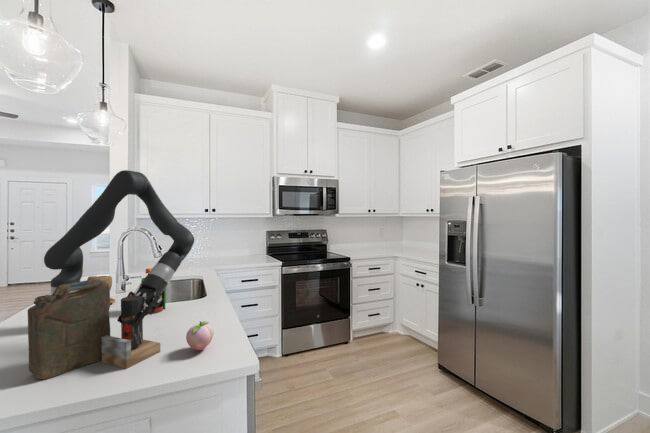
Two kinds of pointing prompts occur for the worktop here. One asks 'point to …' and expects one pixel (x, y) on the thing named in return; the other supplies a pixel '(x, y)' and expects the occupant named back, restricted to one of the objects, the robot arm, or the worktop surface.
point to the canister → (68, 327)
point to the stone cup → (106, 279)
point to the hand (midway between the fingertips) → (127, 323)
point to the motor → (163, 295)
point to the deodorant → (128, 313)
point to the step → (126, 351)
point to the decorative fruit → (199, 335)
